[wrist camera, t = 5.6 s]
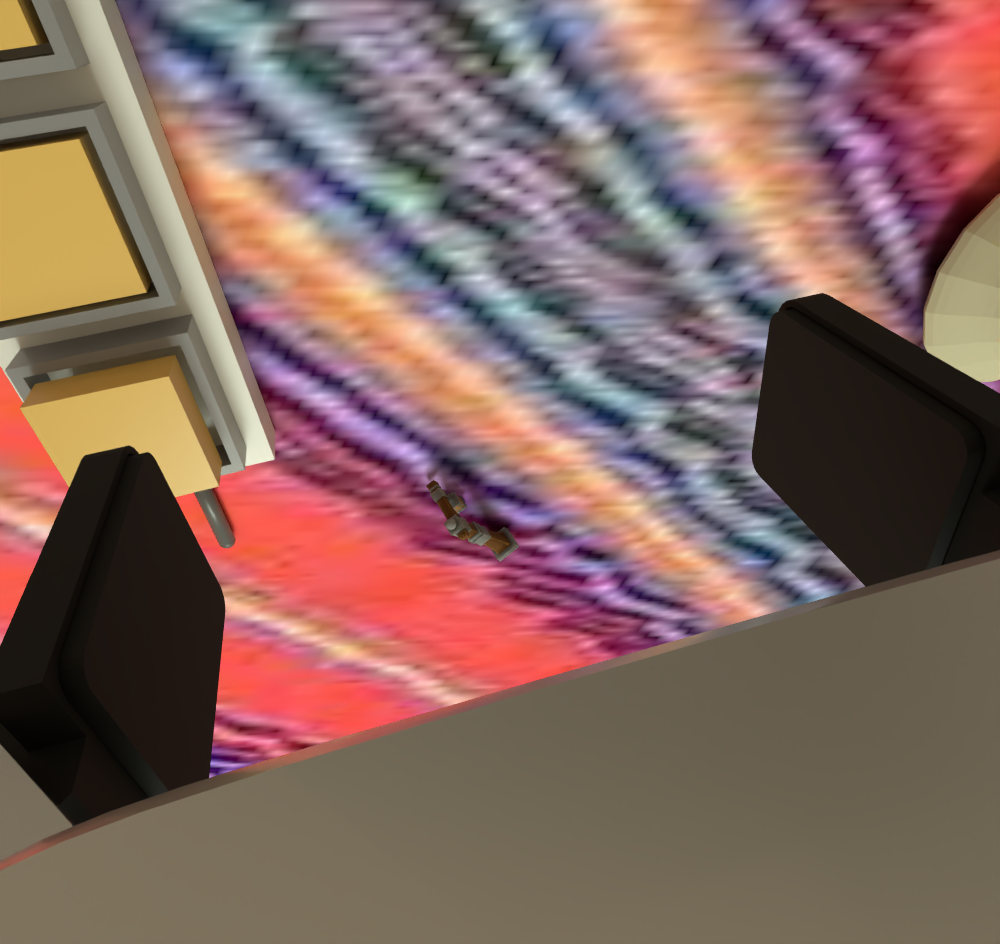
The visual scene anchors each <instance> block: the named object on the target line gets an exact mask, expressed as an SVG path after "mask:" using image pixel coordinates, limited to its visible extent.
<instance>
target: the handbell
mask: <svg viewBox="0 0 1000 944" xmlns="http://www.w3.org/2000/svg"><path fill="white" fill-rule="evenodd" d="M923 343H924V346H925V348H926V350H927V352H928V353H930V354H932V355H934V356H935V357H937V358H939V359H940V360H942V361H944V362H946V363H947V364H949V365H951V366H953V367H954V368H956V369H958V370H960V371H961V372H963V373H965V374H967V375H968V376H970V377H972V378H974V379H975V380H977V381H979V382H991V381H996V380H999V379H1000V193H999V194H997V195H996V196H995V197H994V198H993V199H992V200H991V201H990V203H989V204H988V205H987V206H986V207H985V208H984V209H983V210H982V211H981V212H980V213H979V214H978V215H977V216H976V217H975V218H974V219H973V220H972V221H971V222H970V223H969V224H968V225H967V226H966V227H965V228H964V229H963V230H962V232H961V234H960V235H959V237H958V238H957V240H956V241H955V243H954V245H953V246H952V248H951V249H950V251H949V252H948V254H947V256H946V257H945V259H944V260H943V262H942V263H941V265H940V267H939V268H938V270H937V272H936V275H935V278H934V281H933V284H932V286H931V289H930V292H929V295H928V298H927V301H926V304H925V307H924V319H923Z"/></svg>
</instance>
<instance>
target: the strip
mask: <svg viewBox="0 0 1000 944" xmlns="http://www.w3.org/2000/svg"><path fill="white" fill-rule="evenodd" d="M32 2H33V5H34V7H35V9H36V12H37V14H38V16H39V19H40V21H41V23H42V26H43V28H44V30H45V33H46V35H47V37H48V40H49V43H44V44H40V45H34V46H27V47H20V48H13V49H7V50H0V145H1V144H7V143H13V142H19V141H25V140H31V139H37V138H43V137H50V136H56V135H62V134H68V133H74V132H80V131H86V130H88V132H89V135H90V137H91V139H92V142H93V144H94V146H95V148H96V151H97V153H98V155H99V158H100V160H101V162H102V165H103V167H104V169H105V172H106V174H107V176H108V179H109V181H110V183H111V186H112V188H113V190H114V193H115V195H116V197H117V200H118V202H119V204H120V206H121V209H122V211H123V213H124V216H125V218H126V220H127V223H128V225H129V227H130V230H131V232H132V234H133V237H134V239H135V241H136V244H137V246H138V248H139V251H140V253H141V255H142V257H143V260H144V262H145V264H146V267H147V269H148V271H149V274H150V276H151V278H152V282H151V284H150V286H149V289H148V291H147V293H142V294H137V295H132V296H127V297H122V298H117V299H112V300H106V301H101V302H96V303H91V304H86V305H81V306H76V307H71V308H66V309H61V310H56V311H51V312H46V313H40V314H35V315H30V316H25V317H20V318H15V319H10V320H5V321H0V366H1V368H2V369H3V371H4V372H5V374H6V376H7V377H8V379H9V381H10V382H11V384H12V385H13V387H14V389H15V390H16V392H17V394H18V395H19V397H20V398H21V400H22V402H24V401H25V399H26V398H27V396H28V395H29V393H30V391H31V390H32V388H33V387H34V385H35V384H38V383H43V382H47V381H52V380H57V379H62V378H66V377H71V376H76V375H81V374H85V373H90V372H95V371H100V370H104V369H109V368H114V367H119V366H123V365H128V364H133V363H138V362H142V361H147V360H152V359H157V358H161V357H166V356H171V355H175V356H176V358H177V360H178V362H179V365H180V367H181V369H182V371H183V374H184V376H185V378H186V381H187V383H188V385H189V387H190V390H191V392H192V394H193V396H194V399H195V401H196V403H197V406H198V408H199V410H200V412H201V415H202V417H203V419H204V421H205V424H206V426H207V428H208V431H209V433H210V435H211V437H212V440H213V442H214V444H215V446H216V449H217V451H218V453H219V455H220V458H221V460H222V467H221V474H220V476H221V475H225V474H229V473H234V472H238V471H242V470H245V466H249V465H253V464H257V463H262V462H266V461H270V460H274V459H275V430H274V427H273V425H272V422H271V419H270V416H269V414H268V411H267V408H266V406H265V403H264V400H263V398H262V395H261V392H260V389H259V387H258V384H257V381H256V379H255V376H254V373H253V371H252V368H251V365H250V363H249V360H248V357H247V354H246V352H245V349H244V346H243V344H242V341H241V338H240V336H239V333H238V330H237V328H236V325H235V322H234V319H233V317H232V314H231V311H230V309H229V306H228V303H227V301H226V298H225V295H224V292H223V290H222V287H221V284H220V282H219V279H218V276H217V274H216V271H215V268H214V266H213V263H212V260H211V257H210V255H209V252H208V249H207V247H206V244H205V241H204V239H203V236H202V233H201V231H200V228H199V225H198V222H197V220H196V217H195V214H194V212H193V209H192V206H191V204H190V201H189V198H188V195H187V193H186V190H185V187H184V185H183V182H182V179H181V177H180V174H179V171H178V169H177V166H176V163H175V160H174V158H173V155H172V152H171V150H170V147H169V144H168V142H167V139H166V136H165V134H164V131H163V128H162V125H161V123H160V120H159V117H158V115H157V112H156V109H155V107H154V104H153V101H152V98H151V96H150V93H149V90H148V88H147V85H146V82H145V80H144V77H143V74H142V72H141V69H140V66H139V63H138V61H137V58H136V55H135V53H134V50H133V47H132V45H131V42H130V39H129V37H128V34H127V31H126V28H125V26H124V23H123V20H122V18H121V15H120V12H119V10H118V7H117V4H116V1H115V0H32ZM194 494H195V496H196V498H197V500H198V502H199V504H200V506H201V508H202V510H203V512H204V514H205V516H206V518H207V520H208V522H209V524H210V526H211V528H212V531H213V533H214V535H215V537H216V539H217V541H218V543H219V545H220V546H221V547H223V548H230V547H232V546H233V545H234V543H235V536H234V534H233V532H232V530H231V528H230V526H229V524H228V521H227V519H226V517H225V515H224V513H223V511H222V509H221V506H220V504H219V502H218V500H217V498H216V496H215V493H214V491H213V489H212V488H211V489H206V490H202V491H198V492H194Z"/></svg>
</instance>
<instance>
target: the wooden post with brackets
mask: <svg viewBox="0 0 1000 944" xmlns="http://www.w3.org/2000/svg"><path fill="white" fill-rule="evenodd" d="M427 488H428V489H429V491H430V492H431V494H430V495H431V496H432V498H433V500H434V501H435V503H438V505H439V507H440V508H441V510H442V512H443V513H444V515H445V517H446V518H447V521H446V522H445V523H444V525H445V526H446V528H447V529H448V531H449V533H450V534H451V535H454V536H457V537H459V539H462V540H465V539H466V538H467V539H468V541H469V542H471V543H476V544H479V545H480V546H481V545H483V544H484V545H486V546H488V547H489V548H491V550H492V551H493V553H494V555H495V556H496V558H497V560H499V561H501V560H503V559H504V558H505V557H507V556H508V555H509V554H510V553H512V552H513V551H514V550H515V549H517V548H518V547H519V545H518V544H517V542H516V541H515V539H514V538H513V536H512V534H511V533H510V531H509V530H508V528H505V527H503V528H502V529H501V530H500V531H498V532H494V531H488V530H487V529H486V528H485V526H481V525H479V524H478V523H477V524H476V522H472V523H468V522H467V521H466V520H465V518H461V517H460V516H459V513H460V512H461V511H463V510H464V509H465V508H466V507H467V505H466V504H465V502H464V500H463V499H462V497H458V496H456V494H455V492H454V491H452V492H451V493H450V494H447V495H446V493H445V491H444V490H443V489H441V486H439V484H438V482H436V481H434V480H433V481H432V482H430V483H429V484H428V485H427Z"/></svg>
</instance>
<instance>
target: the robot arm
mask: <svg viewBox="0 0 1000 944" xmlns="http://www.w3.org/2000/svg"><path fill="white" fill-rule="evenodd" d="M752 461H753V465H754V468H755V470H756V472H757V473H758V475H759V476H760V477H761V478H762V479H763V480H764V481H765V482H766V483H767V484H768V485H769V486H770V487H771V488H772V489H773V491H774V492H775V493H776V494H777V495H778V496H779V497H780V498H781V499H782V500H783V501H784V502H785V503H786V504H787V505H788V506H789V507H790V508H791V509H792V510H793V511H794V512H795V513H796V514H797V516H798V517H799V518H800V519H801V520H802V521H803V522H804V523H805V524H806V525H807V526H808V527H809V528H810V529H811V530H812V531H813V532H814V533H815V534H816V535H817V536H818V537H819V538H820V539H821V541H822V542H823V543H824V544H825V545H826V546H827V547H828V548H829V549H830V550H831V551H832V552H833V553H834V554H835V555H836V556H837V557H838V558H839V559H840V560H841V561H842V562H843V563H844V564H845V566H846V567H847V568H848V569H849V570H850V571H851V572H852V573H853V574H854V575H855V576H856V577H857V578H858V579H859V580H860V581H861V582H862V583H863V584H864V585H865V586H866V587H864V588H860V589H856V590H853V591H849V592H846V593H842V594H839V595H835V596H831V597H828V598H824V599H821V600H817V601H814V602H810V603H806V604H803V605H799V606H796V607H792V608H789V609H785V610H781V611H778V612H774V613H771V614H767V615H764V616H760V617H757V618H753V619H750V620H746V621H743V622H739V623H736V624H732V625H729V626H725V627H722V628H718V629H715V630H711V631H708V632H704V633H701V634H697V635H694V636H690V637H687V638H683V639H680V640H676V641H673V642H669V643H666V644H662V645H659V646H655V647H652V648H648V649H645V650H641V651H638V652H634V653H631V654H627V655H624V656H620V657H617V658H613V659H610V660H606V661H603V662H599V663H596V664H592V665H589V666H585V667H582V668H578V669H575V670H571V671H568V672H564V673H561V674H557V675H554V676H550V677H547V678H544V679H540V680H537V681H533V682H530V683H526V684H523V685H520V686H516V687H513V688H509V689H506V690H502V691H499V692H496V693H492V694H489V695H485V696H482V697H478V698H475V699H472V700H468V701H465V702H461V703H458V704H454V705H451V706H448V707H444V708H441V709H437V710H434V711H430V712H427V713H424V714H420V715H417V716H413V717H410V718H406V719H403V720H400V721H396V722H393V723H389V724H386V725H382V726H379V727H376V728H372V729H369V730H365V731H362V732H358V733H355V734H352V735H348V736H345V737H341V738H338V739H334V740H331V741H328V742H325V743H321V744H318V745H315V746H312V747H308V748H305V749H302V750H299V751H295V752H292V753H289V754H286V755H282V756H279V757H276V758H273V759H269V760H266V761H263V762H260V763H256V764H253V765H250V766H247V767H243V768H240V769H237V770H234V771H230V772H227V773H224V774H221V775H217V776H214V777H211V778H209V772H210V762H211V752H212V742H213V732H214V721H215V711H216V701H217V691H218V681H219V671H220V660H221V650H222V640H223V630H224V620H225V601H224V596H223V593H222V590H221V587H220V585H219V583H218V581H217V579H216V577H215V575H214V573H213V571H212V569H211V567H210V565H209V563H208V561H207V559H206V557H205V555H204V553H203V551H202V550H201V548H200V546H199V544H198V542H197V540H196V538H195V536H194V534H193V532H192V530H191V528H190V526H189V524H188V522H187V520H186V518H185V516H184V514H183V512H182V510H181V508H180V506H179V504H178V502H177V500H176V498H175V496H174V495H173V493H172V491H171V489H170V487H169V485H168V483H167V481H166V479H165V477H164V475H163V473H162V471H161V469H160V467H159V465H158V463H157V461H156V460H155V458H154V456H153V455H152V454H151V453H149V452H146V453H141V454H139V453H138V452H137V451H136V449H135V448H134V447H132V446H130V445H129V446H124V447H120V448H115V449H110V450H106V451H101V452H97V453H92V454H88V455H84V457H83V458H82V459H81V462H80V464H79V466H78V468H77V471H76V473H75V475H74V478H73V480H72V482H71V485H70V487H69V489H68V492H67V494H66V496H65V499H64V501H63V503H62V505H61V508H60V510H59V512H58V515H57V517H56V519H55V522H54V524H53V526H52V529H51V531H50V533H49V536H48V538H47V540H46V542H45V545H44V547H43V549H42V552H41V554H40V556H39V559H38V561H37V563H36V566H35V568H34V570H33V573H32V574H31V576H30V579H29V581H28V583H27V586H26V588H25V590H24V593H23V595H22V597H21V599H20V602H19V604H18V606H17V609H16V611H15V613H14V616H13V618H12V620H11V623H10V625H9V627H8V630H7V632H6V634H5V636H4V639H3V641H2V643H1V646H0V944H1000V393H998V392H996V391H994V390H993V389H991V388H989V387H987V386H986V385H984V384H982V383H981V382H979V381H977V380H975V379H974V378H972V377H970V376H968V375H967V374H965V373H963V372H961V371H960V370H958V369H956V368H954V367H953V366H951V365H949V364H947V363H946V362H944V361H942V360H940V359H939V358H937V357H935V356H934V355H932V354H930V353H928V352H927V351H925V350H923V349H921V348H920V347H918V346H916V345H914V344H913V343H911V342H909V341H907V340H906V339H904V338H902V337H900V336H899V335H897V334H895V333H893V332H892V331H890V330H888V329H887V328H885V327H883V326H881V325H880V324H878V323H876V322H874V321H873V320H871V319H869V318H867V317H866V316H864V315H862V314H860V313H859V312H857V311H855V310H853V309H852V308H850V307H848V306H847V305H845V304H843V303H841V302H840V301H838V300H836V299H834V298H833V297H831V296H829V295H827V294H824V293H821V294H816V295H811V296H807V297H802V298H798V299H793V300H789V301H786V302H785V303H783V304H782V306H781V307H780V309H779V312H777V313H775V314H774V315H773V316H772V318H771V321H770V325H769V332H768V340H767V347H766V354H765V361H764V369H763V376H762V383H761V390H760V398H759V405H758V412H757V419H756V427H755V434H754V441H753V449H752Z"/></svg>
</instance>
